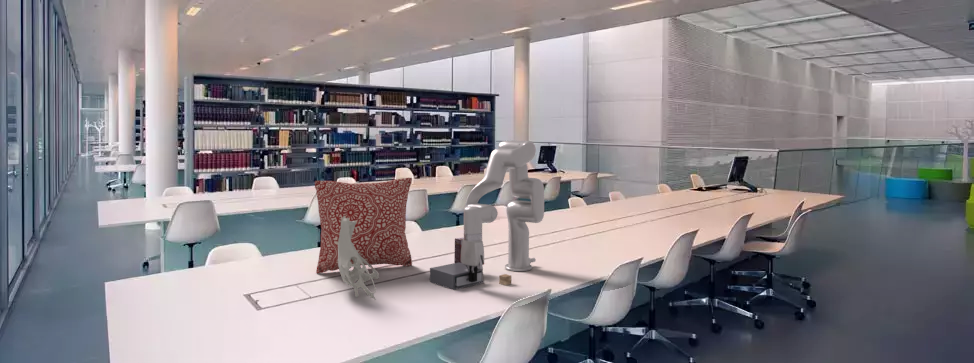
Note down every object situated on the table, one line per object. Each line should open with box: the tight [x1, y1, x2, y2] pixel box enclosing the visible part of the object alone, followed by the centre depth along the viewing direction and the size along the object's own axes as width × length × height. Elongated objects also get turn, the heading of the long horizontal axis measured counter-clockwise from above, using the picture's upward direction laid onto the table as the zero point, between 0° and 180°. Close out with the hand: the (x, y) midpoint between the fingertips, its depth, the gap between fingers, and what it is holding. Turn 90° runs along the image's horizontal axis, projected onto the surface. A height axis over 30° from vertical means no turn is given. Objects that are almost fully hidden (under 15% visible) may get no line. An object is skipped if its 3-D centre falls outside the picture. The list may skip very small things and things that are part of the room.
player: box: [429, 262, 484, 291], centre depth 245 cm, size 16×16×6 cm
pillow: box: [314, 177, 413, 274], centre depth 265 cm, size 44×16×42 cm, turn 112°
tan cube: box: [498, 273, 512, 286], centre depth 243 cm, size 4×4×4 cm
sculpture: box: [338, 216, 380, 301], centre depth 229 cm, size 32×18×30 cm, turn 16°
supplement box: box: [453, 237, 464, 263], centre depth 260 cm, size 9×5×16 cm, turn 126°
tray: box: [455, 272, 482, 287], centre depth 244 cm, size 13×15×4 cm
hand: (472, 281), depth 237 cm, fingers closed
